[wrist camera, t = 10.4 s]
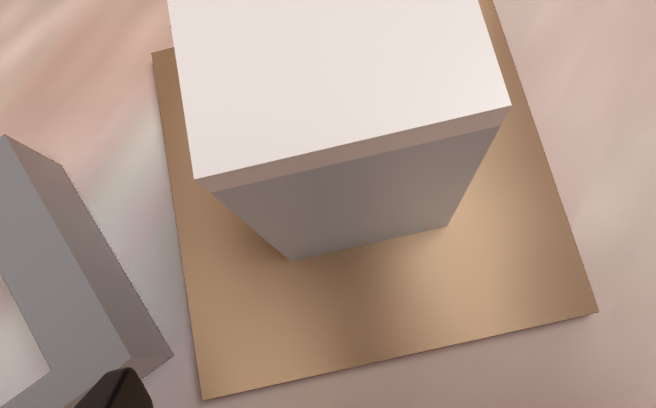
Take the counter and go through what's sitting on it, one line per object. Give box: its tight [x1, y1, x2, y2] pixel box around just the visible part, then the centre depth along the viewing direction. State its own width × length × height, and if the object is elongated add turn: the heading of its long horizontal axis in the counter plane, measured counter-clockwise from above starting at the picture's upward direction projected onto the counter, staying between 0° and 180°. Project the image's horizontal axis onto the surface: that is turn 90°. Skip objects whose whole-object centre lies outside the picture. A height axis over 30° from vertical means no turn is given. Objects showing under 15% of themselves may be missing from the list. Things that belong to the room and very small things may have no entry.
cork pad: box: [151, 0, 599, 401], centre depth 18 cm, size 12×12×1 cm
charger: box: [167, 0, 512, 261], centre depth 13 cm, size 5×5×9 cm
